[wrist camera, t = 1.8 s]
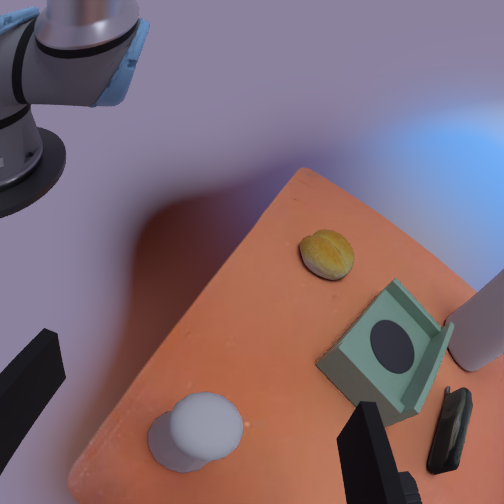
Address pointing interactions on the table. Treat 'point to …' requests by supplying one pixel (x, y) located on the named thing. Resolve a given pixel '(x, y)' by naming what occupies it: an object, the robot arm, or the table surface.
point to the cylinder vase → (479, 327)
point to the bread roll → (327, 254)
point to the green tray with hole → (389, 355)
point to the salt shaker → (195, 432)
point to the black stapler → (451, 431)
